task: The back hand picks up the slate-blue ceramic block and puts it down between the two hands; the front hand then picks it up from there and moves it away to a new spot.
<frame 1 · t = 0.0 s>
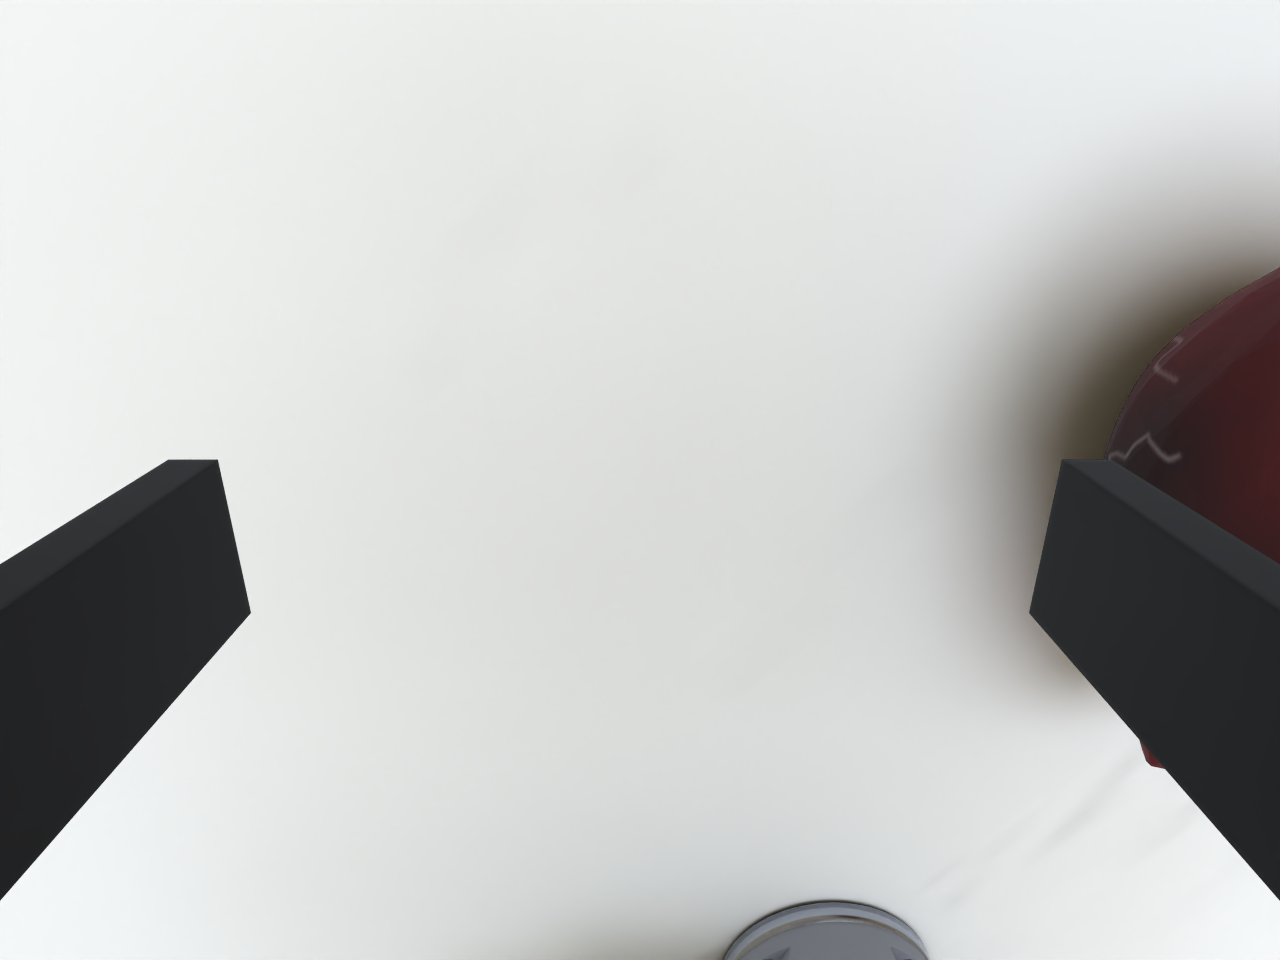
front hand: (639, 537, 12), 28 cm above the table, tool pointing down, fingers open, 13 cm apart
dark red rounded piece: (1186, 461, 42), on the table
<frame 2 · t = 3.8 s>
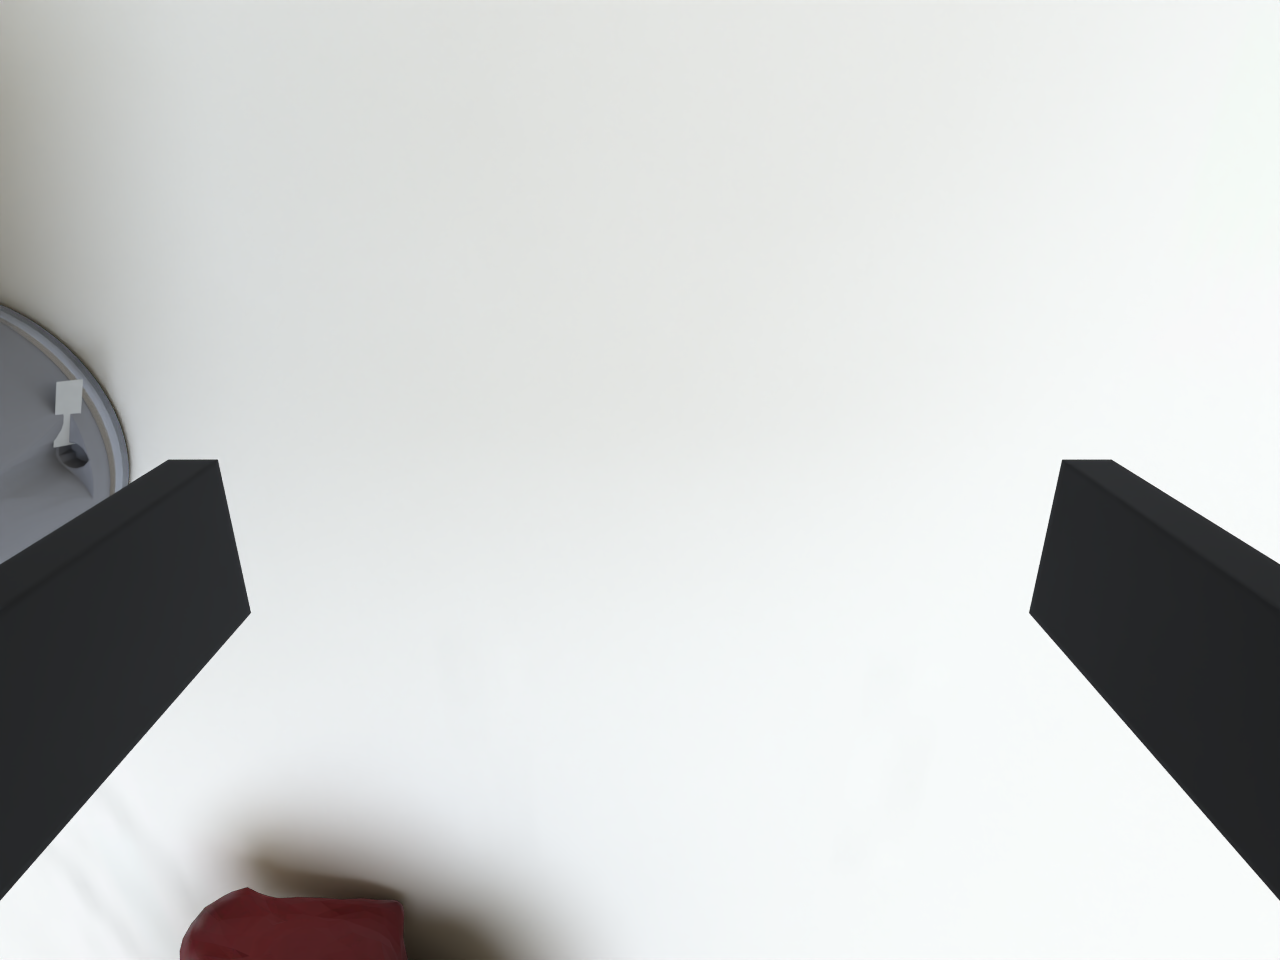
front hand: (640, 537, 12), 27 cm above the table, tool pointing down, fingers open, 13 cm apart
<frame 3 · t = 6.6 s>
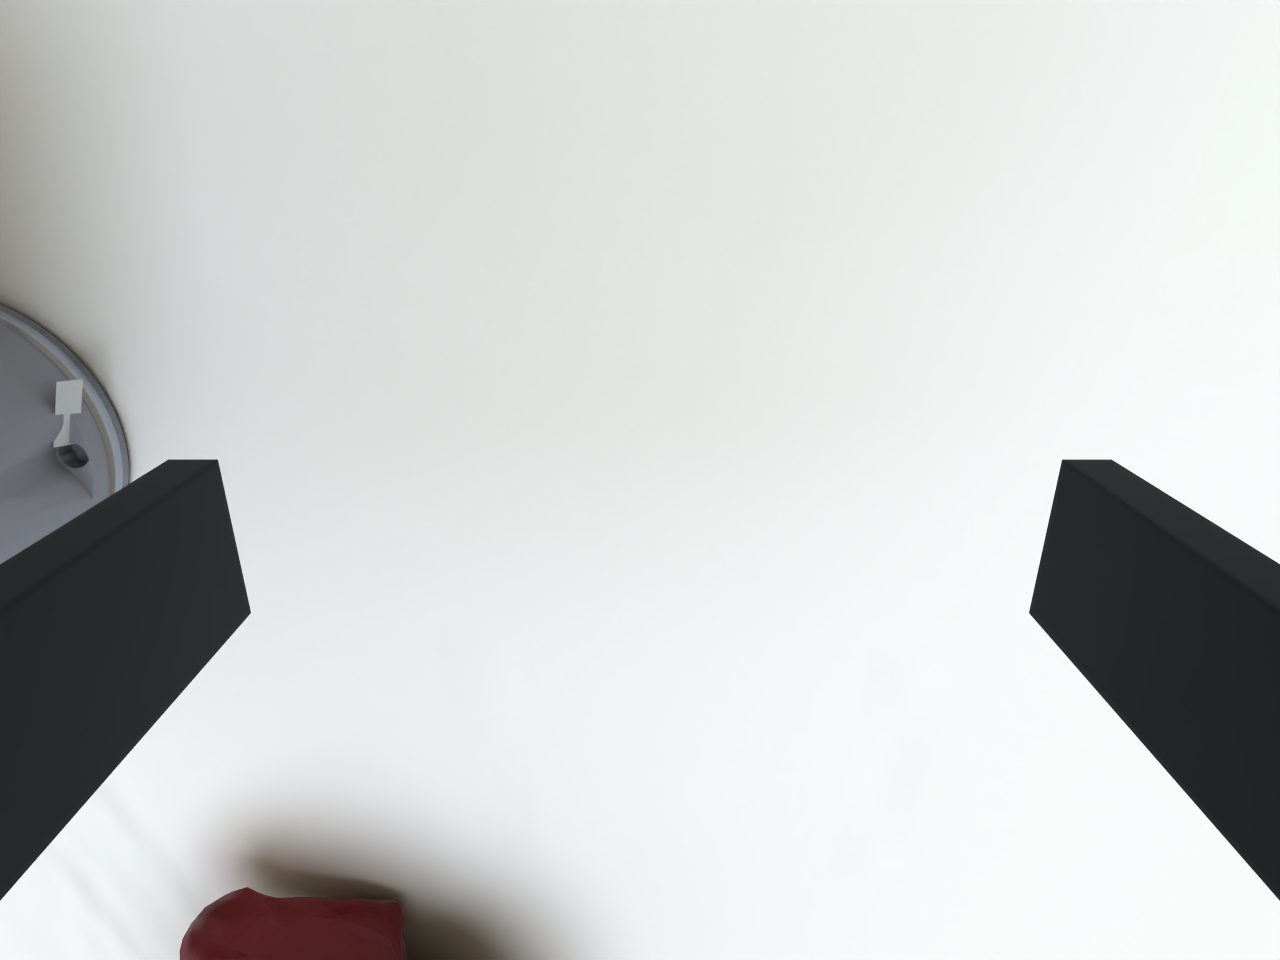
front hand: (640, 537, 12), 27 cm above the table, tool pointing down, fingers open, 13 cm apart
when the back hand's fingers open (5 cm above the table, at t = 9.3 s): block drops 1 cm, on the table.
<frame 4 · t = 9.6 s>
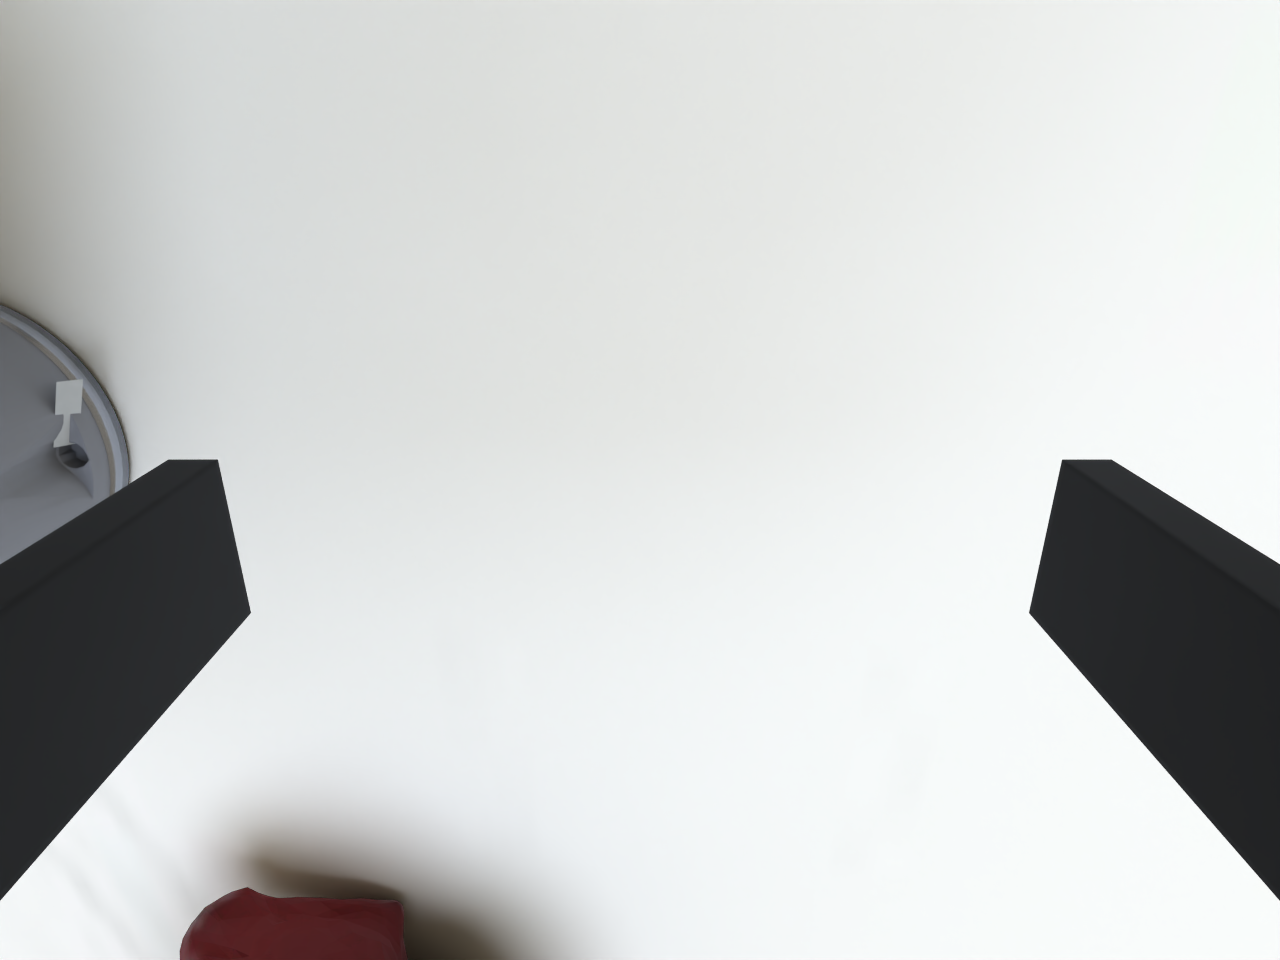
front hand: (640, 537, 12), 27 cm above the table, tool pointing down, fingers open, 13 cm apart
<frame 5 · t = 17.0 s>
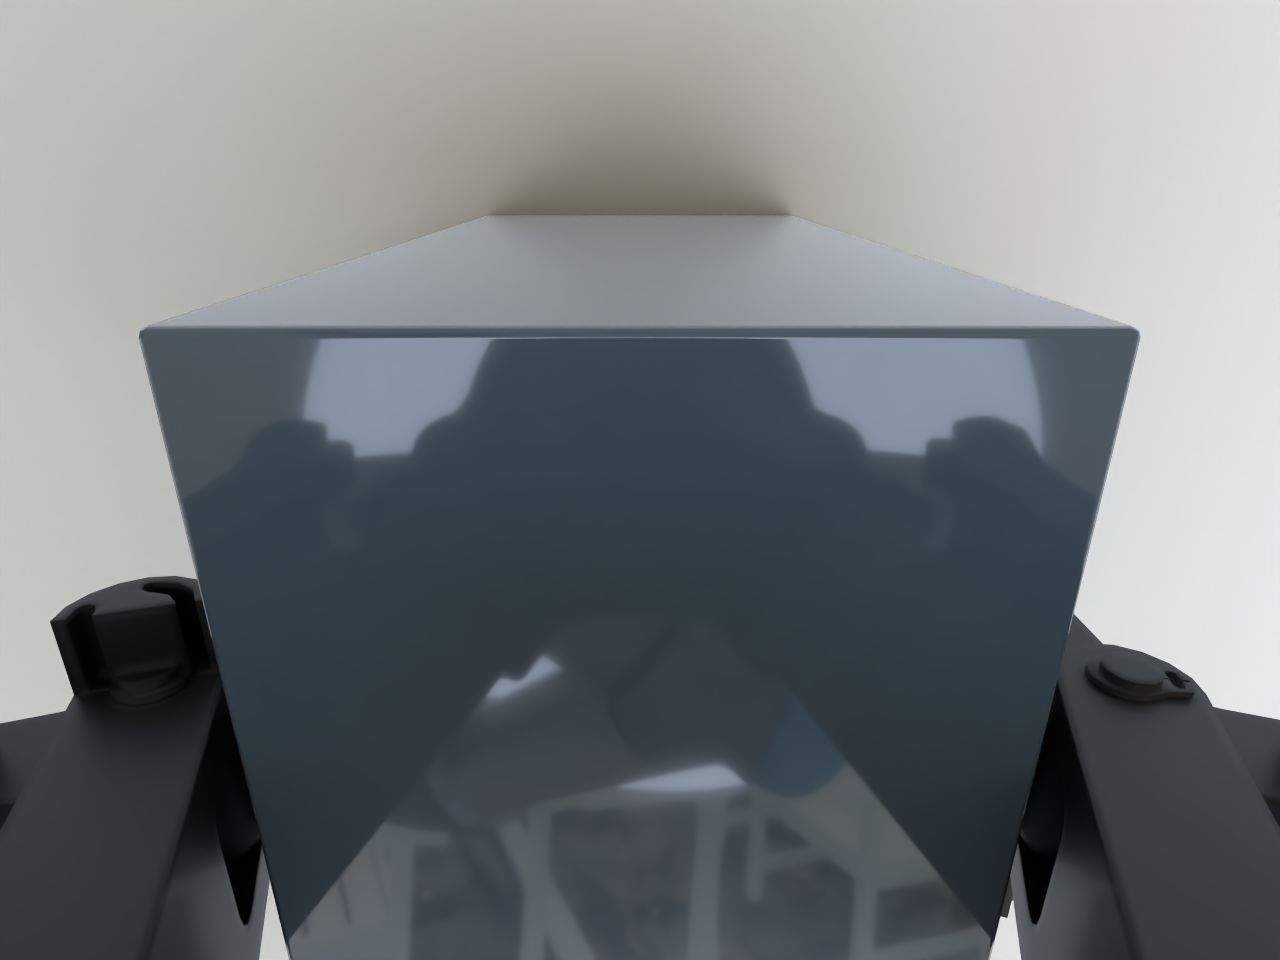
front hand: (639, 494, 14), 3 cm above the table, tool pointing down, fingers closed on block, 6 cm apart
block: (639, 431, 17), on the table, touching front hand
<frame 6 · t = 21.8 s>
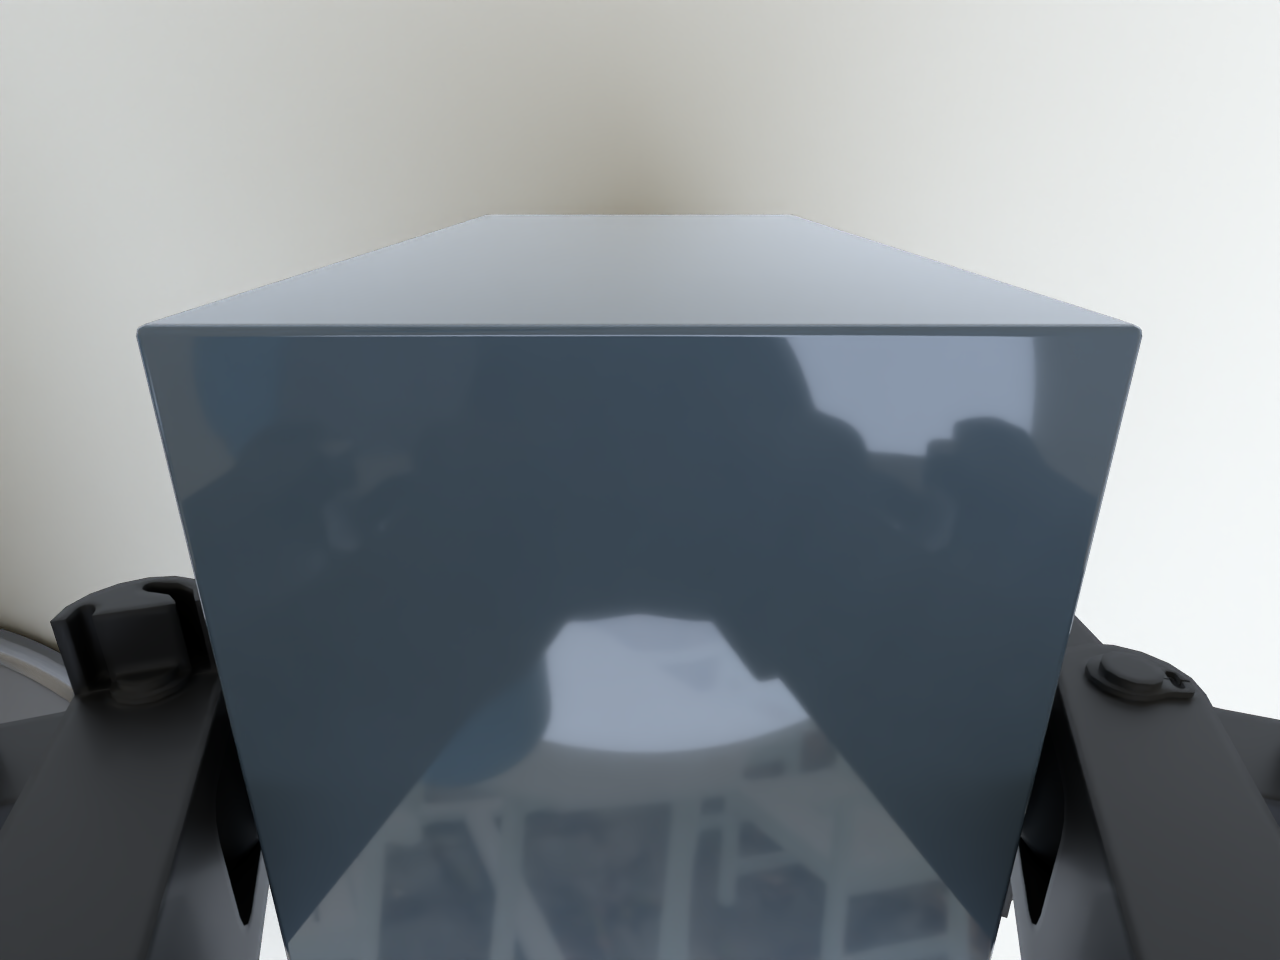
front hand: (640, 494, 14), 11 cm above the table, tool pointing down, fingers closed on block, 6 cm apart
block: (639, 431, 17), point 7 cm above the table, touching front hand
when the front hand's fingers open (5 cm above the table, at t = 27.0 s): block drops 1 cm, on the table.
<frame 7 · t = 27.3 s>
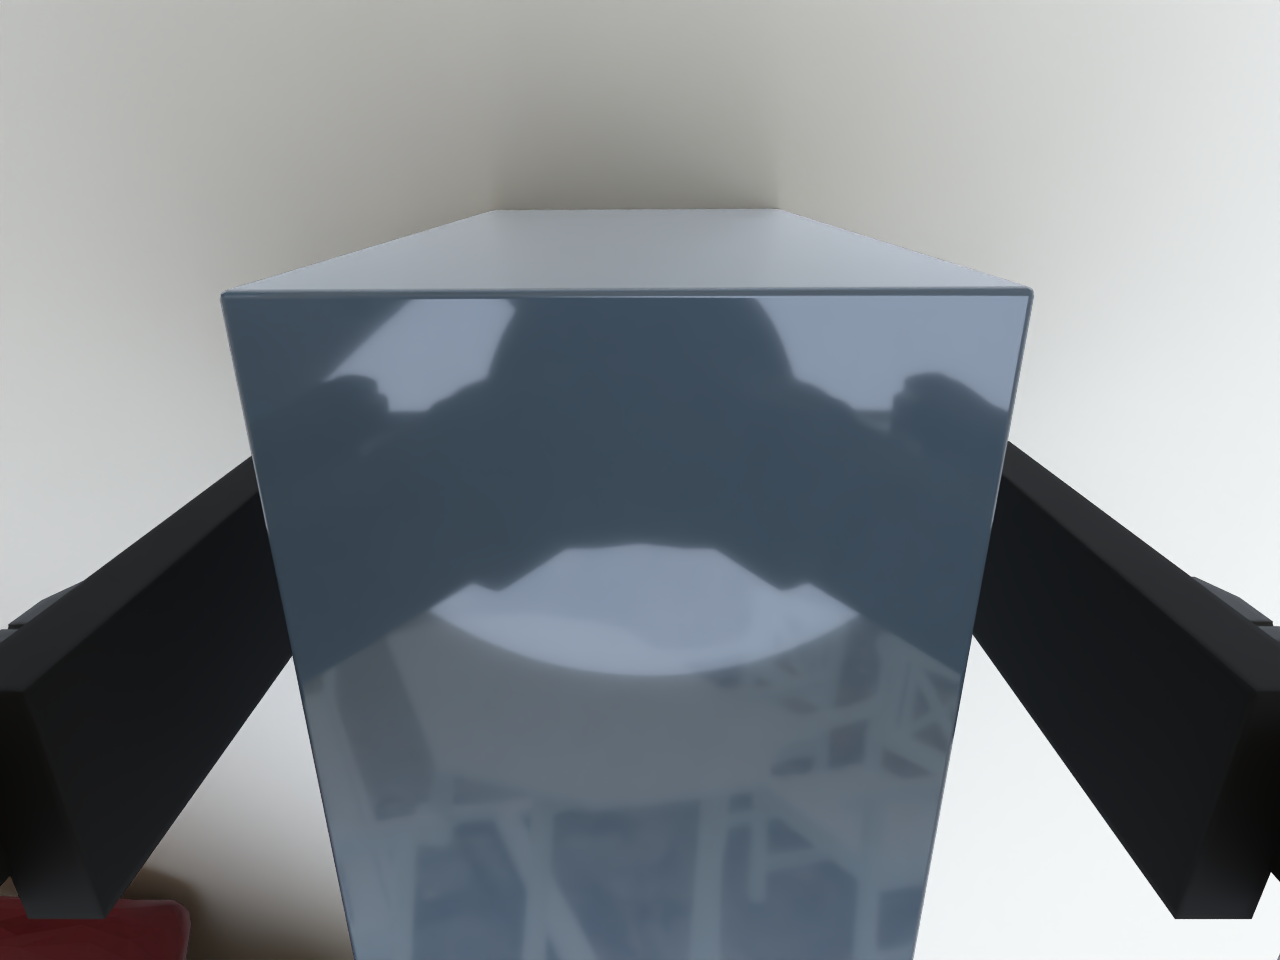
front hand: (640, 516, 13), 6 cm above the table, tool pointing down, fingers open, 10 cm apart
block: (636, 413, 18), on the table
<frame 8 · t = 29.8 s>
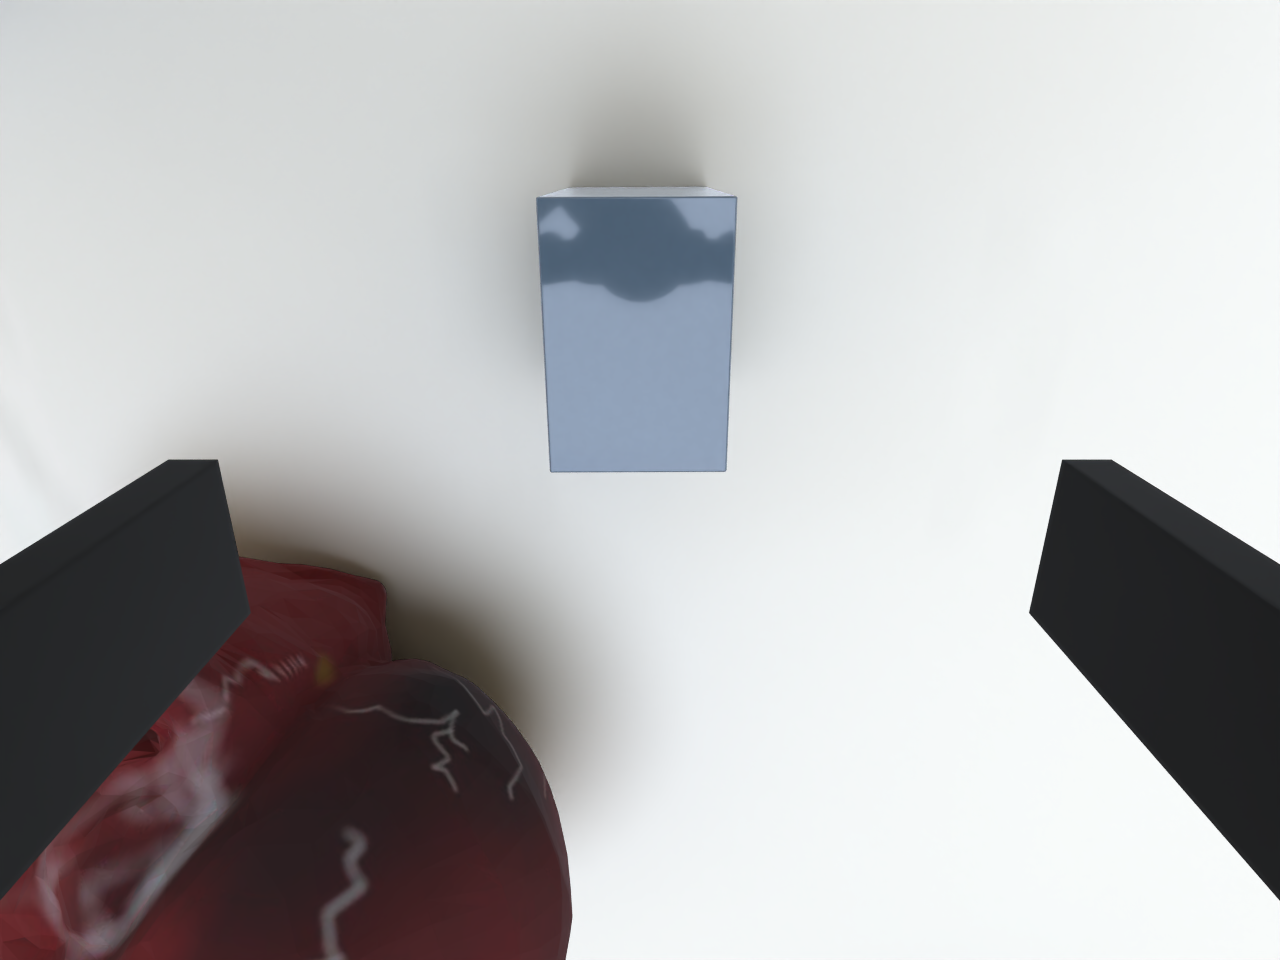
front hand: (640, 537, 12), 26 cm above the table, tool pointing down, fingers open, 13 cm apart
dark red rounded piece: (375, 685, 45), on the table
block: (638, 290, 36), on the table
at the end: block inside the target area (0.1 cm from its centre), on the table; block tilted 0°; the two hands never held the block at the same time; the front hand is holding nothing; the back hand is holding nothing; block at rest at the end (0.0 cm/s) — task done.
